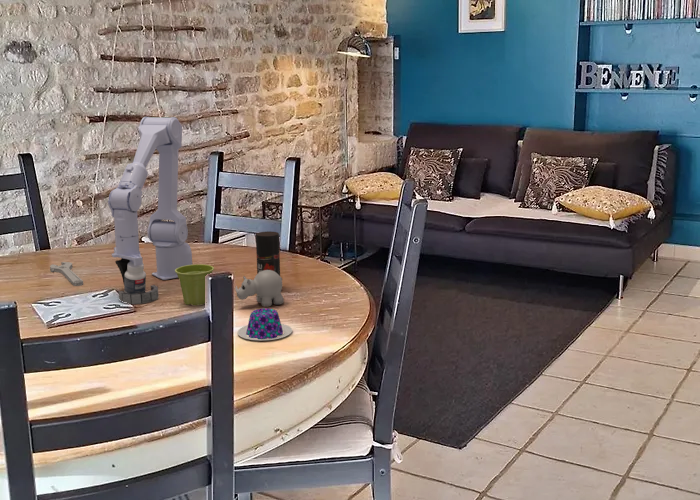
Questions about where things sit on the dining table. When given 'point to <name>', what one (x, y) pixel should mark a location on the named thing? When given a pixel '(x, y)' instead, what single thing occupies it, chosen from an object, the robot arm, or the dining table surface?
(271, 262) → the deodorant
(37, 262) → the dining table surface
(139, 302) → the collar
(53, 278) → the dining table surface
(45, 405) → the dining table surface
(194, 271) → the plant pot
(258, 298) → the toy rhinoceros
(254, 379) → the dining table surface
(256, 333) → the pudding
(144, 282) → the pill bottle
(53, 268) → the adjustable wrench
